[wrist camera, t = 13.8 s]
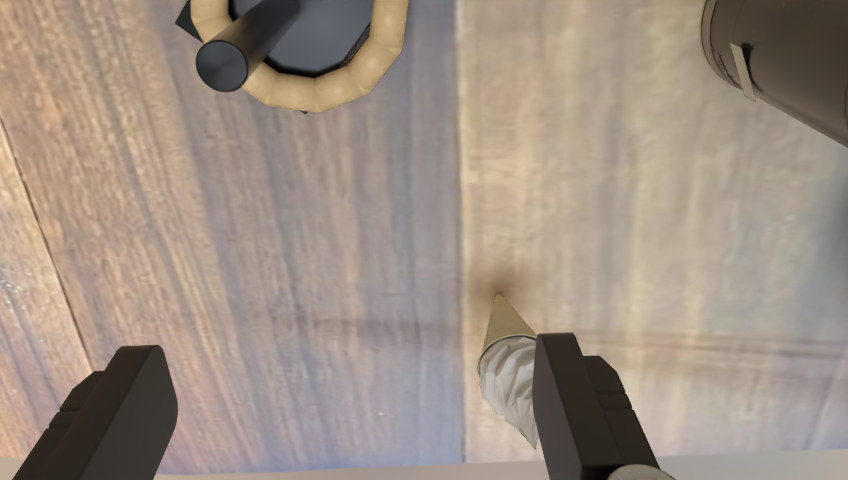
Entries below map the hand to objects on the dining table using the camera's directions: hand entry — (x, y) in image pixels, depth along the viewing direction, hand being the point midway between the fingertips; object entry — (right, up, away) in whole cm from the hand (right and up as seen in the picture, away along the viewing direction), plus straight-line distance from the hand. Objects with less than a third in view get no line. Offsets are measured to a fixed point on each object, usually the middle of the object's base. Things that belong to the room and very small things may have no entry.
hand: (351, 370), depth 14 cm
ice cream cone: (+7, -1, +35) cm, 35 cm away
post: (-7, +17, +24) cm, 30 cm away
